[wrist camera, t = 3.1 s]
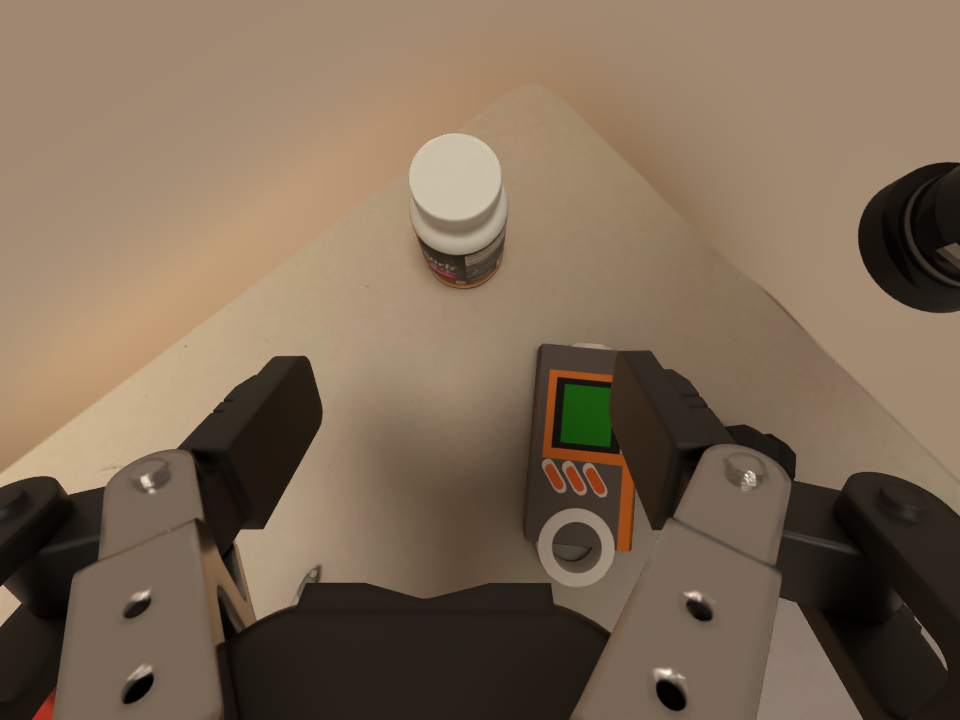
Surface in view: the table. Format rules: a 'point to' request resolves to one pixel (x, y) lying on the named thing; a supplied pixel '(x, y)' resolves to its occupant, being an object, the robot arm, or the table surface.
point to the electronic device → (576, 465)
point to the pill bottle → (458, 208)
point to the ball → (46, 708)
